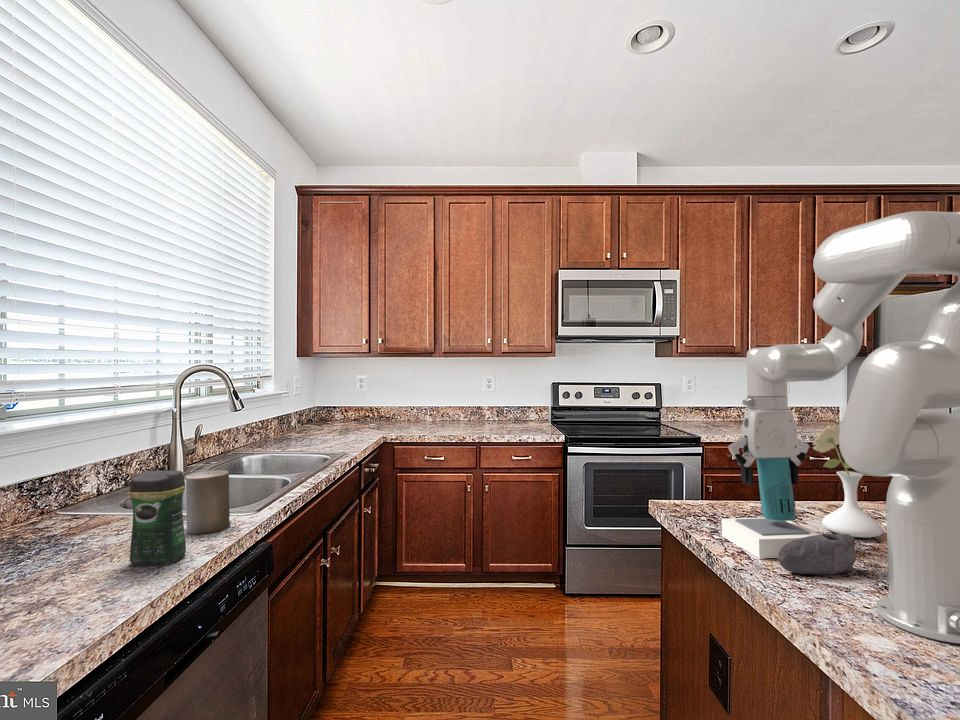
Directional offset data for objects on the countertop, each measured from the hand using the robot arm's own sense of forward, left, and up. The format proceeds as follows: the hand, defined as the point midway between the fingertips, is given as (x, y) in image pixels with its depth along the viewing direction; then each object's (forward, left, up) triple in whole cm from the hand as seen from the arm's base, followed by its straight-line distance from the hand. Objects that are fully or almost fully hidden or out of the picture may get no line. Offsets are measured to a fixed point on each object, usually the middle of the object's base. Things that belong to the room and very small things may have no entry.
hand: (769, 483), depth 107 cm
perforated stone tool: (-14, 0, -14) cm, 19 cm away
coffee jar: (+4, +130, -14) cm, 131 cm away
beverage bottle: (0, -2, -9) cm, 9 cm away
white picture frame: (0, 0, -13) cm, 13 cm away
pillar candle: (+25, +130, -14) cm, 133 cm away
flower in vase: (+6, -22, -14) cm, 26 cm away
